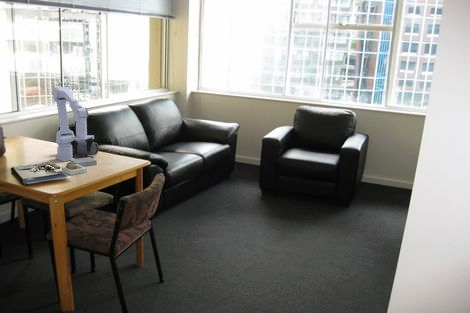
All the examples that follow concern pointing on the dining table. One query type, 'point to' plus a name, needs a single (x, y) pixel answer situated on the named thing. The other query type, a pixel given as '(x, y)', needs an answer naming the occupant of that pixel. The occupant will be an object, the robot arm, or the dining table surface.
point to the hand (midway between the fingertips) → (82, 152)
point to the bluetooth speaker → (85, 149)
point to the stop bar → (53, 165)
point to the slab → (84, 161)
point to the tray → (76, 171)
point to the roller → (71, 166)
